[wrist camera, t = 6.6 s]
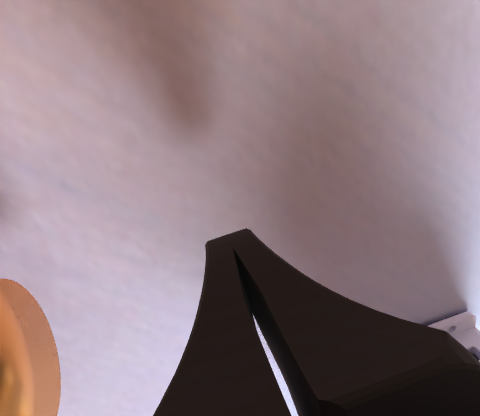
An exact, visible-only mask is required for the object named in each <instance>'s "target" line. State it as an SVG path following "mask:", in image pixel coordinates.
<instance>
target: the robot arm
mask: <svg viewBox="0 0 480 416" xmlns="http://www.w3.org/2000/svg"><path fill="white" fill-rule="evenodd" d="M205 248H206V265H205V274H204V281H203V288H202V293H201V298H200V302H199V306H198V311H197V315H196V318H195V322H194V325H193V328H192V331H191V334H190V337H189V340H188V343H187V346H186V348H185V351H184V353H183V356H182V358H181V361H180V363H179V365H178V368H177V370H176V372H175V374H174V376H173V378H172V380H171V382H170V384H169V386H168V388H167V390H166V392H165V394H164V396H163V398H162V400H161V402H160V404H159V406H158V408H157V409H156V411H155V413H154V415H153V416H291V414H290V411H289V409H288V407H287V404H286V402H285V400H284V397H283V395H282V392H281V390H280V388H279V385H278V383H277V380H276V378H275V376H274V373H273V371H272V368H271V366H270V363H269V361H268V358H267V356H266V353H265V351H264V348H263V346H262V343H261V341H260V338H259V336H258V333H257V330H256V326H255V322H254V318H253V315H254V317H255V320H256V322H257V324H258V326H259V328H260V330H261V332H262V334H263V336H264V338H265V340H266V342H267V344H268V346H269V348H270V350H271V352H272V354H273V356H274V358H275V361H276V363H277V365H278V367H279V369H280V371H281V373H282V375H283V377H284V380H285V382H286V384H287V386H288V389H289V392H290V394H291V397H292V400H293V402H294V405H295V407H296V410H297V413H298V415H299V416H480V331H479V330H478V329H477V328H475V324H476V317H475V316H474V315H473V314H472V313H471V312H463V313H460V314H458V315H455V316H452V317H450V318H447V319H444V320H441V321H439V322H436V323H433V324H431V325H428V326H425V325H421V324H417V323H413V322H410V321H406V320H403V319H399V318H397V317H394V316H391V315H388V314H385V313H382V312H379V311H376V310H374V309H371V308H369V307H367V306H364V305H362V304H359V303H357V302H354V301H352V300H350V299H348V298H346V297H344V296H342V295H340V294H337V293H335V292H333V291H332V290H330V289H328V288H326V287H324V286H322V285H321V284H319V283H317V282H316V281H314V280H312V279H311V278H309V277H307V276H306V275H304V274H303V273H301V272H300V271H298V270H297V269H295V268H294V267H293V266H291V265H290V264H288V263H287V262H286V261H284V260H283V259H282V258H281V257H279V256H278V255H277V254H275V253H274V252H273V251H272V250H271V249H269V248H268V247H267V246H266V245H265V244H264V243H263V242H262V241H260V240H259V239H258V238H257V237H256V236H255V235H254V234H253V232H252V231H251V230H249V229H247V228H246V229H243V230H240V231H237V232H234V233H231V234H228V235H225V236H222V237H219V238H216V239H213V240H210V241H208V242H207V243H206V245H205ZM252 313H253V314H252Z"/></svg>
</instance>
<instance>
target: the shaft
mask: <svg viewBox="0 0 480 416" xmlns="http://www.w3.org/2000/svg"><path fill="white" fill-rule="evenodd" d="M60 391H61V377H60V366H59V358H58V353H57V348H56V344H55V340H54V337H53V334H52V331H51V328H50V326H49V323H48V321H47V319H46V316H45V315H44V313H43V311H42V309H41V307H40V306H39V304H38V303H37V301H36V300H35V299H34V297H33V296H32V295H31V294H30V293H29V292H28V291H27V290H26V289H25V288H24V287H23V286H21V285H20V284H18V283H17V282H15V281H12V280H9V279H0V416H57V413H58V408H59V402H60Z"/></svg>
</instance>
